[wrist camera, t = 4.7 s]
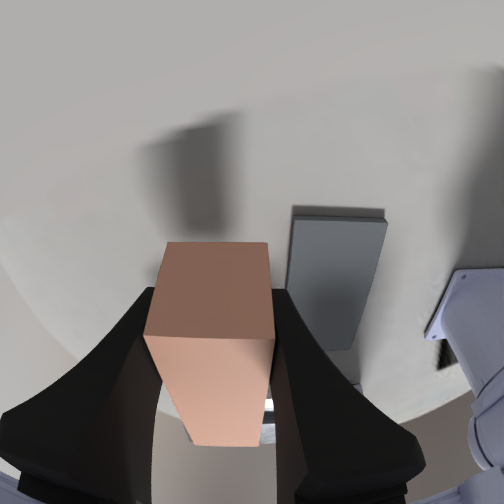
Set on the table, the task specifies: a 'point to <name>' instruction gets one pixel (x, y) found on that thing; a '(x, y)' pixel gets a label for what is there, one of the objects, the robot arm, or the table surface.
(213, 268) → the salmon rectangular block
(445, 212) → the table surface
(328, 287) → the pad
